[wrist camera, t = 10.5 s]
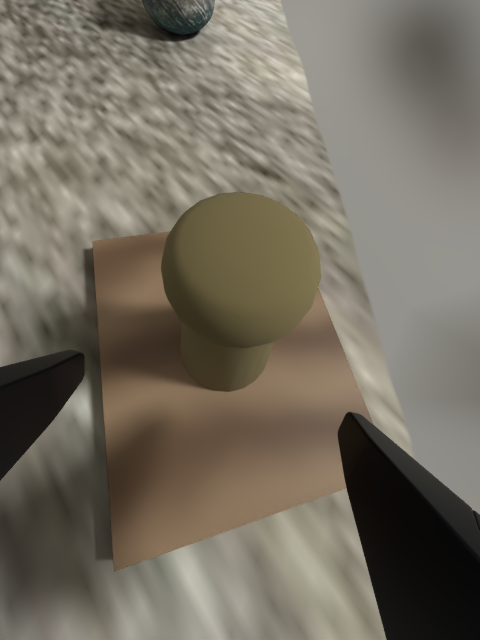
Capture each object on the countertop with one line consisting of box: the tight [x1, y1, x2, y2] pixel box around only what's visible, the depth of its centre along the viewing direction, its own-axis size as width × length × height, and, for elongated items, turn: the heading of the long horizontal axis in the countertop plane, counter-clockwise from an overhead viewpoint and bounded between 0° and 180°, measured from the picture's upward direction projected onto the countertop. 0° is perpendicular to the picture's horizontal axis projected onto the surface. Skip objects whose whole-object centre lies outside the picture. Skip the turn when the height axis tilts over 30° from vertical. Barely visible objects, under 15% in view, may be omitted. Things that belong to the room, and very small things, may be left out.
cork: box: [161, 192, 321, 392], centre depth 12 cm, size 6×6×11 cm
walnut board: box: [92, 231, 373, 571], centre depth 18 cm, size 20×16×1 cm
